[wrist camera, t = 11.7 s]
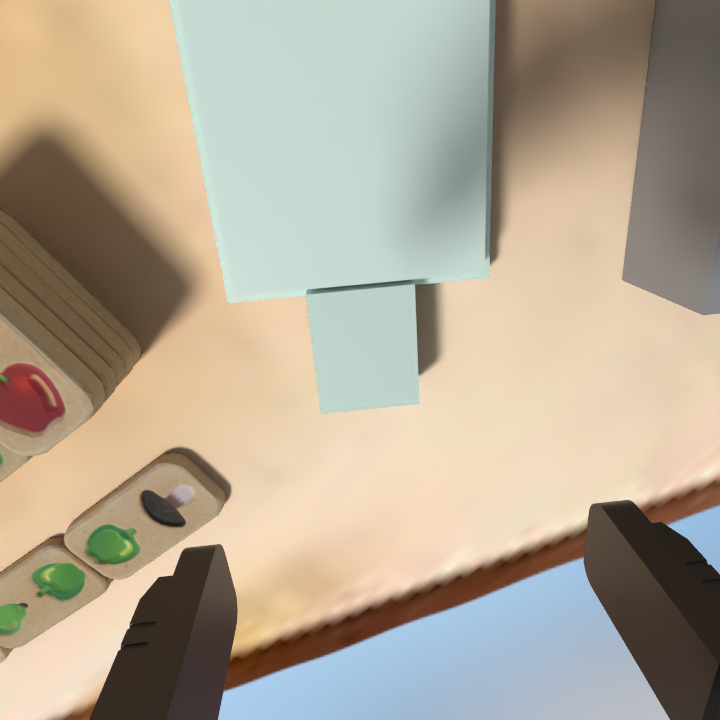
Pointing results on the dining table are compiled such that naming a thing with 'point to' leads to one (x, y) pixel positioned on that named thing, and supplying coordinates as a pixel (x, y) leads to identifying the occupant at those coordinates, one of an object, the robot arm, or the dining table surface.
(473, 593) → the dining table surface
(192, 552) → the robot arm
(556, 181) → the dining table surface
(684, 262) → the tub
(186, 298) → the dining table surface
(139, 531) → the pile of dominoes
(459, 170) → the lid
